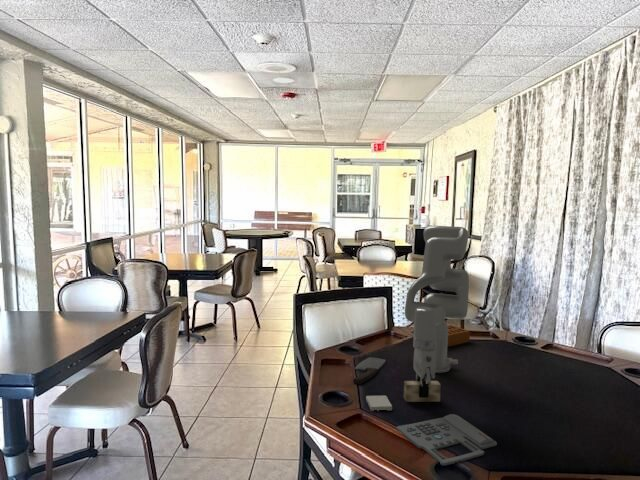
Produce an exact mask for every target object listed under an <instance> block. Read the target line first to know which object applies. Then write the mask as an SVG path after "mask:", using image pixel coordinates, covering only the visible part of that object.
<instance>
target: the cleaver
mask: <svg viewBox="0 0 640 480" xmlns="http://www.w3.org/2000/svg"><path fill="white" fill-rule="evenodd" d="M386 362H387V359H384V358H378V357H374V356H373V357H372V356H369V357H367V358H365V359H363V360H362V361H360V362H359V363H358V364H357V365H356V366H355V367H354V370H357V371H360V372H361V371H362V373H361V374H360V375H359V376H357V377H354V378H353V379H352V382H353V383H354V384H356V385H362V384H364V383H365V382H367V381H369V380H371V378H373V377H374V376H375V375H377V374H378V371H379V370H380V369H381V368H382V367H383V366H384V365H385V364H386Z"/></svg>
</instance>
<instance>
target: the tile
mask: <svg viewBox="0 0 640 480" xmlns="http://www.w3.org/2000/svg"><path fill="white" fill-rule="evenodd" d="M365 400H366V403H367V405H368V407H369V409H370V411H371V412H375V411H374V410H377V412H380V411H379V410H387V411H392V410H393V404H392V403H391V402H390V400H389V399H388V396H387V395H366V396H365Z"/></svg>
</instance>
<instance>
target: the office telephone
mask: <svg viewBox="0 0 640 480" xmlns="http://www.w3.org/2000/svg"><path fill="white" fill-rule="evenodd" d="M395 429H396V430H397V432H399V431H400V432H401V433H402V434H403V435H402V434H401V433H400V432H399V433H400V434H401V435H402V436H403V437H404V438H405V439H407V440H408V441H409V442H410V443H412V445H414V446H415V447H417V448H418V449H422V450H424V451H425V452H426V453H427V454H429V455H430V456H432V458H434V459H435V460H436V461H437V460H438V461H439V462H440V464H439V465H441V466H449V465H453V464H456V463H455V462H457V463H459V462H458V461H461V462H463V461H468V460H471V459H474V458H478V457H481V456H484V455H485V451H484V449H488V448H493V447H496V446H497V445H498V443H497V441H496V440H495V439H493V438H492V437H490V436H489V435H487V434H486V433H485V432H483V431H482V430H480V429H479V428H477V427H476V426H474V425H473V424H471V423H470V422H469V421H467V420H466V419H464V418H463V417H461V416H459V415H458V414H453V413H449V414H447V415H445V416H443V417H437V418H434V419H428V420H424V421H418V422H414V423H408V424H402V425H398V426H396V428H395ZM458 443H459V444H461V445H462V446H463V447H465V448H467V449H468V450H469V451H471V452H469V453H465V454H461V455H458V456H453V457H449V458H447V457H446V456H444V455H443V454H442V453H440V452H439V451H438V449H439V448H440V449H444V448H447V447H450V446H455V445H458ZM440 449H439V450H440ZM438 461H437V462H438ZM439 462H438V463H439Z"/></svg>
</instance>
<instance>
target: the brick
mask: <svg viewBox="0 0 640 480" xmlns="http://www.w3.org/2000/svg"><path fill="white" fill-rule="evenodd" d="M447 326H448V344H447V348H448V347H452V346H457V345H461V344H465V343H466V344H467V343H469V342H470V337H471V335H470V333H471V331H470V330H469V329H465V328H462V327H458V326H456V325H453V324H452V325H451V324H449V325H447Z"/></svg>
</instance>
